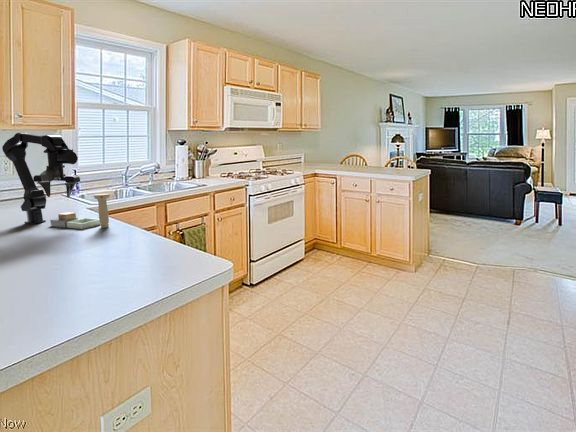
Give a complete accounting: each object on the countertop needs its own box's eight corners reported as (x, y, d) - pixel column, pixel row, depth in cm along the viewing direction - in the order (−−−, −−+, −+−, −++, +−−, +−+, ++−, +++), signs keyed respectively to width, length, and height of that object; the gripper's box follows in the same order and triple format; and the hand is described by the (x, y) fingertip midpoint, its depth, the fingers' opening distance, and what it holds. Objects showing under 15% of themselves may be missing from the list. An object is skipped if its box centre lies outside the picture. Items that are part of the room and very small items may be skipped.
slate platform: (51, 226, 182) (50, 219, 181) (64, 223, 188) (63, 216, 188) (65, 227, 178) (64, 221, 178) (78, 224, 185) (77, 218, 184)
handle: (112, 227, 178) (109, 194, 175) (96, 228, 175) (93, 195, 172) (112, 225, 182) (109, 193, 179) (97, 226, 180) (94, 194, 177)
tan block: (58, 219, 182) (58, 214, 181) (68, 217, 186) (67, 212, 186) (66, 220, 180) (65, 214, 180) (76, 218, 185) (75, 212, 184)
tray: (67, 227, 179) (66, 222, 178) (85, 223, 188) (85, 217, 187) (82, 229, 175) (82, 223, 175) (100, 224, 184) (100, 219, 184)
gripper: (23, 164, 171) (27, 199, 175) (65, 165, 171) (68, 200, 174) (39, 162, 182) (43, 195, 185) (79, 163, 182) (82, 196, 185)
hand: (58, 197), depth 182 cm, fingers open, 9 cm apart
